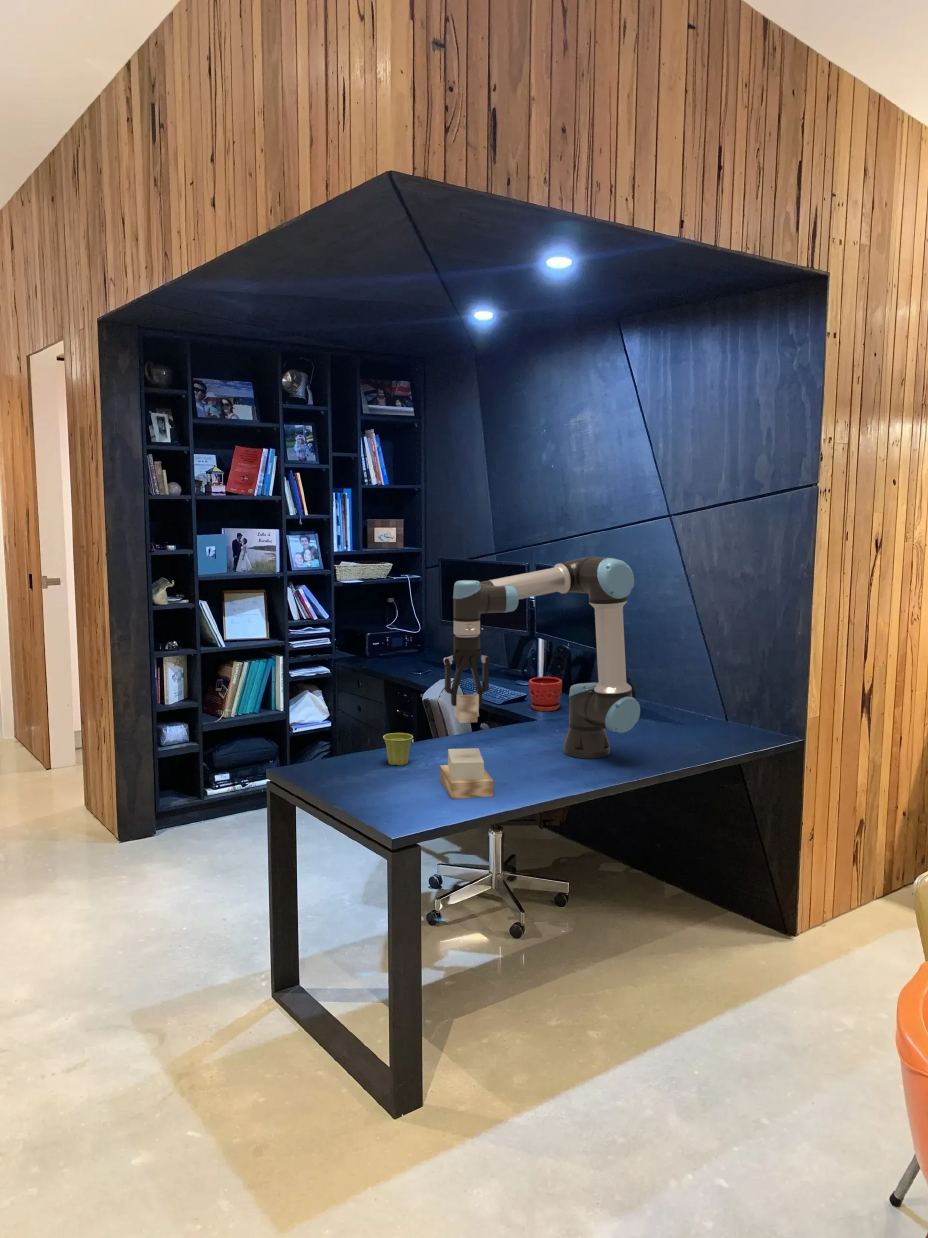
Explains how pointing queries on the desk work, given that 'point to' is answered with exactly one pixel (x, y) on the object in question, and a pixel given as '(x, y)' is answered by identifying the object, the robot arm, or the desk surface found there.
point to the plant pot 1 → (398, 747)
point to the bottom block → (466, 785)
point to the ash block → (468, 708)
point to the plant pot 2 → (545, 693)
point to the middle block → (465, 764)
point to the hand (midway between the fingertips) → (466, 716)
